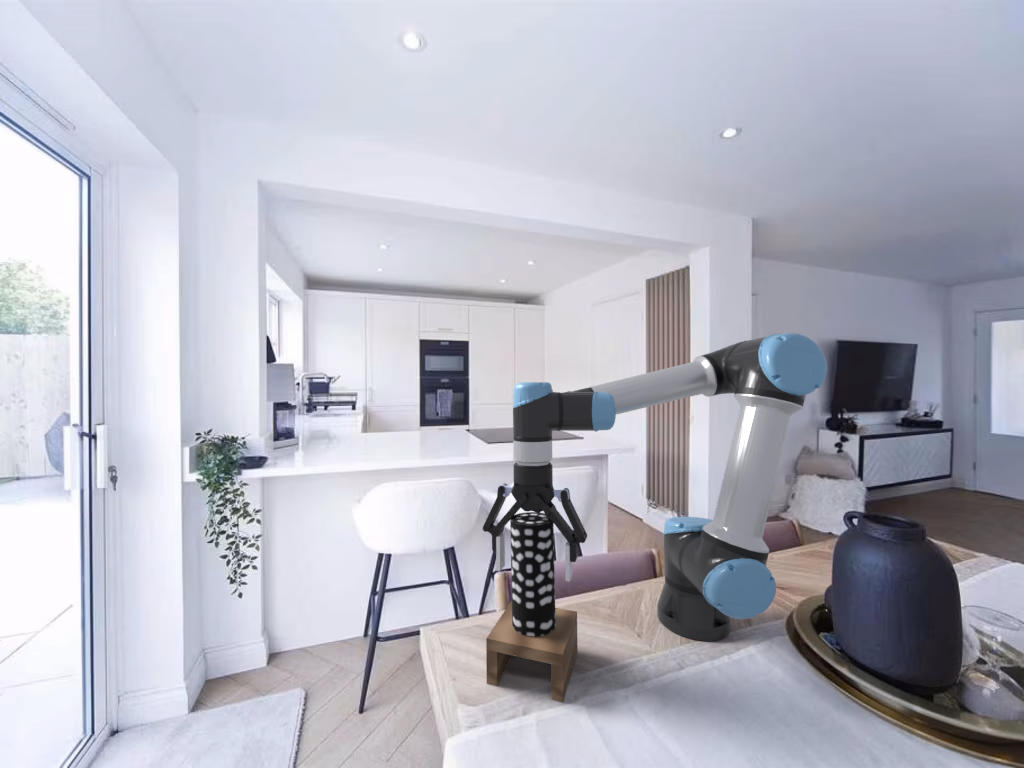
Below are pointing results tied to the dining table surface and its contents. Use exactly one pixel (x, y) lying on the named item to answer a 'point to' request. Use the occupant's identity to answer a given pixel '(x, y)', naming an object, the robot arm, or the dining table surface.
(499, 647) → the wooden bridge block
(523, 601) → the spotted tube
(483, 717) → the dining table surface
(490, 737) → the dining table surface
